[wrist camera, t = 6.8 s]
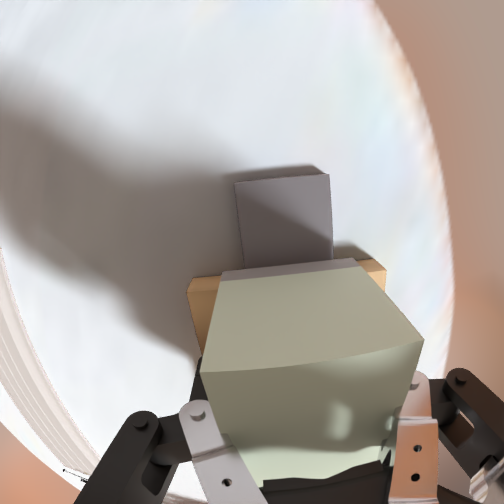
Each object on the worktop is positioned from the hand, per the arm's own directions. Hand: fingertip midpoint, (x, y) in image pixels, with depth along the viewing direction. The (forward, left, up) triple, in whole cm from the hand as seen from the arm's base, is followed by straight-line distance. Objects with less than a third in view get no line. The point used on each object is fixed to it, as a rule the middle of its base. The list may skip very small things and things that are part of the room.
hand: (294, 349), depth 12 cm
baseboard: (+9, -23, -3) cm, 25 cm away
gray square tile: (-5, 0, -3) cm, 6 cm away
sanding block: (0, 0, -1) cm, 1 cm away
